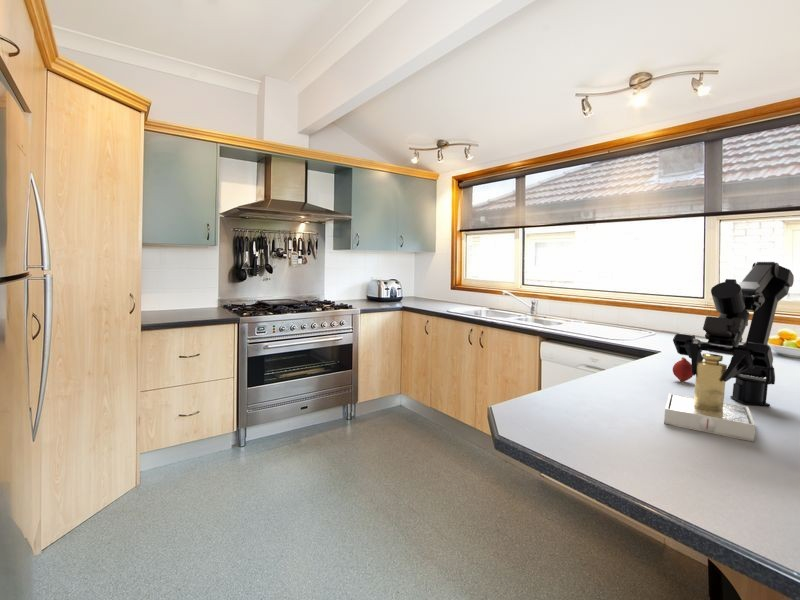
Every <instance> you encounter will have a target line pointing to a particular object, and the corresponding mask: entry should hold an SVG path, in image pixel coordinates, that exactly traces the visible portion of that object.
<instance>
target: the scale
mask: <svg viewBox="0 0 800 600" xmlns="http://www.w3.org/2000/svg"><path fill="white" fill-rule="evenodd" d="M673 395H674V396H680V397H686V398H692V399H694V396H693V397H692V396H686V395H680V394H673V393H668V398H667V400H666V405H665V407H664V408H665V409H664V419H663V424H664V425H669V426H674V427H679V428H683V429H689V430H694V431H699V432H703V433H708V434H714V435H718V436H723V437H728V438H732V439H733V438H734V439H738V440H742V441H748V442H755V431H756V423H755V420H754V418H753V415H752V413H751V410H750V408H749V406H747V405H746V406H745V405H740V404H739V405H738V404H733V403H727V402H723V404H727V405H733V406H739V407H744V410H745V412H746V415H747V418H748V421H749V424H748V423H743V422H737V421H732V420H727V419H721V418H716V417H710V416H705V415H700V414H694V413H689V412H684V411H678V410H673V409H670V407H671V403H672V398H673Z"/></svg>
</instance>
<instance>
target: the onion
mask: <svg viewBox="0 0 800 600" xmlns="http://www.w3.org/2000/svg"><path fill="white" fill-rule="evenodd" d="M672 373H673V375H674V376H675V377H676V378H677V380H679V381H680V382H683V383H684V382H686V381H688V380H690V379H692V377H694V376H693V375H692V362H690V361H689V360H688V359H686V358H685V357H683V356H682V357H681V360H679V361H677V362H676V363H674V365H673V366H672Z"/></svg>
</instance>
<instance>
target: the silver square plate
mask: <svg viewBox="0 0 800 600" xmlns="http://www.w3.org/2000/svg"><path fill="white" fill-rule="evenodd" d="M693 403H694V399H692V398H686V397H680V396H674V395H673V398H672V403H671V407H670V409H673V410H678V411H684V412H689V413H694V414H700V415H705V416H710V417H716V418H721V419H727V420H732V421H737V422H743V423H748V424H749V421H748V418H747V415H746V412H745V410H744V407H739V406H733V405H727V404H723V411H722V412H711V411H706V410H702V409H698V408H696V407H694V406H693Z"/></svg>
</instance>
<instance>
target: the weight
mask: <svg viewBox="0 0 800 600" xmlns="http://www.w3.org/2000/svg"><path fill="white" fill-rule="evenodd" d="M701 355H702V359H703V361H698V362H697V370H696V375H695V382H694V383H695V385H694V394H693V398H694V403H693V406H694V407H696V408H698V409H702V410H706V411H711V412H722V411H723V403H725V402H724V400H725V390H726V382H724V381H723V377H724V374H725V372H726V370H727V368H728V365H727V364H725V363H721V362H723V358H724V356H723V355H722V354H717V353H702V354H701Z"/></svg>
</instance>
